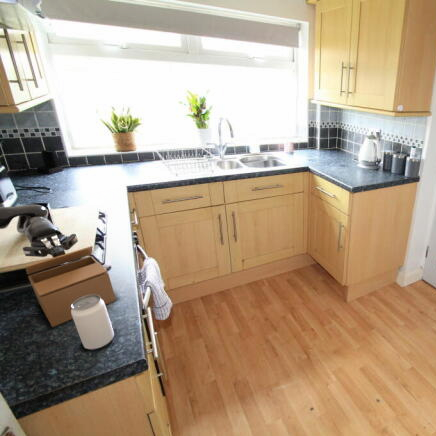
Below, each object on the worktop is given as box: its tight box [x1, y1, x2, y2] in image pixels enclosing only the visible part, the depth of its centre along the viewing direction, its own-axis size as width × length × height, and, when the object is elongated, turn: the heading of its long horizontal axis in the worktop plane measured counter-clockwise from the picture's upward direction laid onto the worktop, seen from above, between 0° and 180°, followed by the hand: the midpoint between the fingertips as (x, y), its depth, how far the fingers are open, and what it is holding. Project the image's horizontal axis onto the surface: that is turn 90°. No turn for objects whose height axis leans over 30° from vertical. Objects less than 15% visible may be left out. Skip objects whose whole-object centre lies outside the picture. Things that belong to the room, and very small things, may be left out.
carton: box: [27, 255, 117, 328], centre depth 90 cm, size 15×14×10 cm
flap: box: [24, 245, 94, 275], centre depth 90 cm, size 15×7×1 cm
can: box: [71, 295, 115, 350], centre depth 77 cm, size 6×6×12 cm
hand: (59, 254), depth 88 cm, fingers closed
